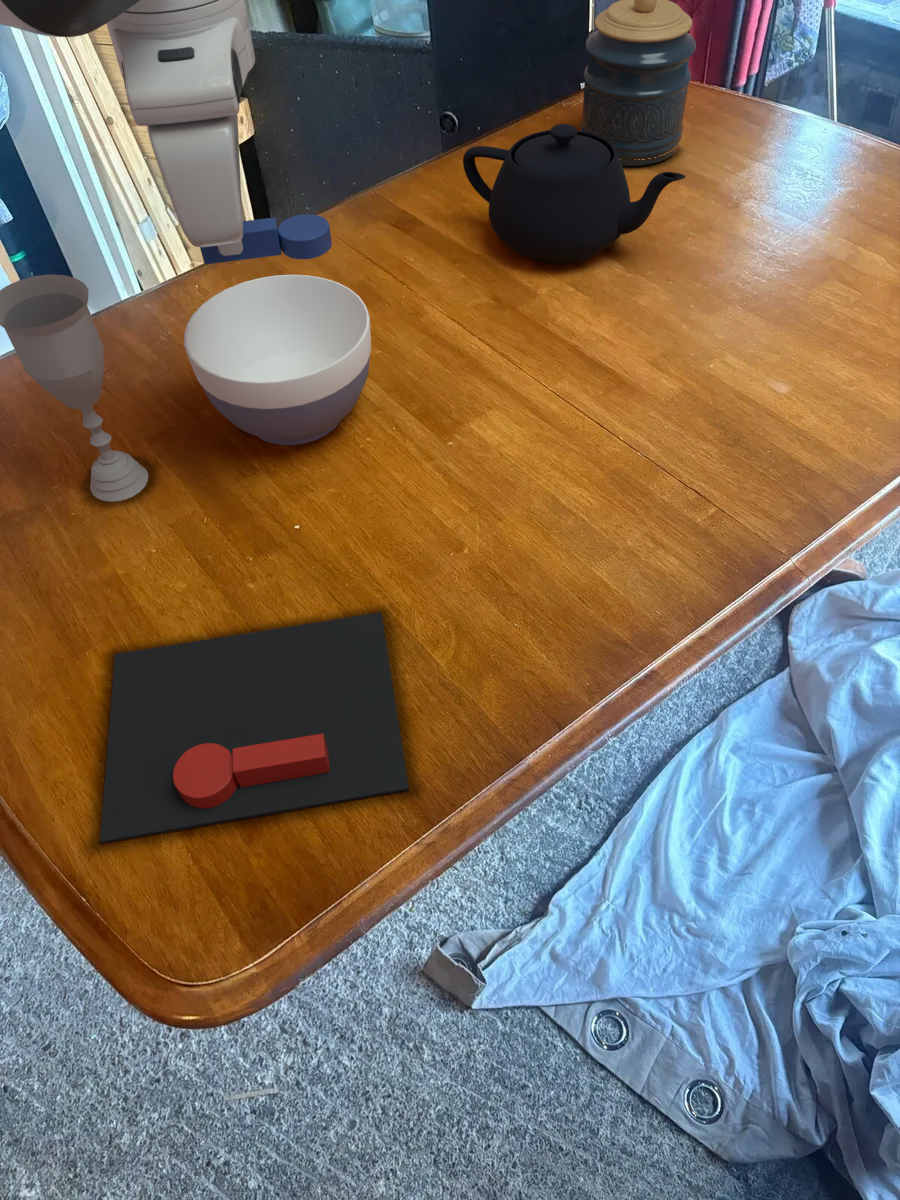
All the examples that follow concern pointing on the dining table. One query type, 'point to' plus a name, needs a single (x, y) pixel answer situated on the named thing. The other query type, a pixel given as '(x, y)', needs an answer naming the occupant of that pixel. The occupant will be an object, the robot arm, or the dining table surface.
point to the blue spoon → (278, 239)
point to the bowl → (282, 355)
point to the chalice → (68, 366)
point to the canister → (638, 78)
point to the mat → (251, 721)
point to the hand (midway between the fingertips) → (231, 239)
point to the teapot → (561, 195)
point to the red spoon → (245, 767)
